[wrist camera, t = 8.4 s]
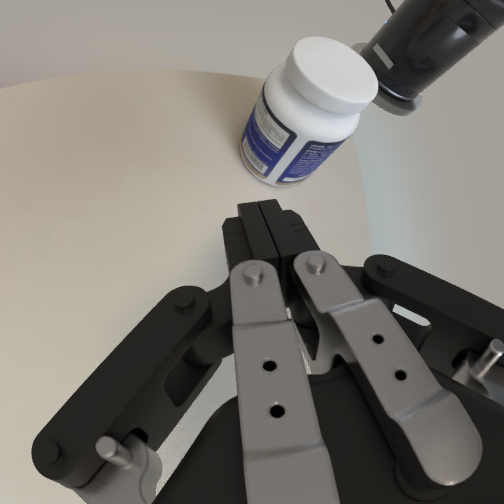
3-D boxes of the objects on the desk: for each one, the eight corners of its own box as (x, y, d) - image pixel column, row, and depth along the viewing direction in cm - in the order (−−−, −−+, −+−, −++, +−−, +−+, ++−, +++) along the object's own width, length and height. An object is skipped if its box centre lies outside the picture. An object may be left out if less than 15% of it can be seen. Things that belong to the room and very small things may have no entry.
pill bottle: (315, 136, 23) (384, 58, 13) (306, 199, 21) (391, 131, 12) (247, 112, 21) (291, 16, 12) (229, 175, 20) (273, 80, 11)
